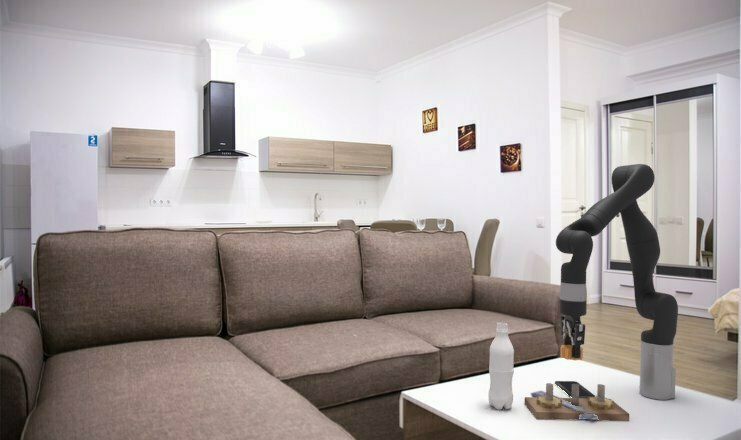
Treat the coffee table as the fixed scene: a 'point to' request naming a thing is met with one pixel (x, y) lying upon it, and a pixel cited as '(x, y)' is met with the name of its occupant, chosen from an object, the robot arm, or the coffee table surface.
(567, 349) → the gear
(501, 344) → the water bottle
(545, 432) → the coffee table surface
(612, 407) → the gear board
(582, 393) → the phone
